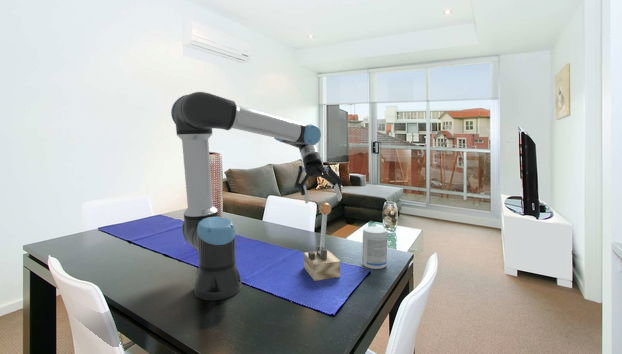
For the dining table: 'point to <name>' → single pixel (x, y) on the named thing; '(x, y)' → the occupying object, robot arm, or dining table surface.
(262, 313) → the dining table surface
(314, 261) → the block with knobs
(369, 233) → the supplement tub
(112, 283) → the dining table surface
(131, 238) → the dining table surface
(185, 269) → the dining table surface
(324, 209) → the press lever
